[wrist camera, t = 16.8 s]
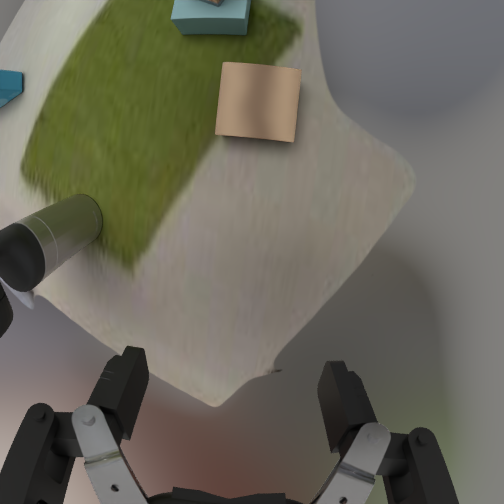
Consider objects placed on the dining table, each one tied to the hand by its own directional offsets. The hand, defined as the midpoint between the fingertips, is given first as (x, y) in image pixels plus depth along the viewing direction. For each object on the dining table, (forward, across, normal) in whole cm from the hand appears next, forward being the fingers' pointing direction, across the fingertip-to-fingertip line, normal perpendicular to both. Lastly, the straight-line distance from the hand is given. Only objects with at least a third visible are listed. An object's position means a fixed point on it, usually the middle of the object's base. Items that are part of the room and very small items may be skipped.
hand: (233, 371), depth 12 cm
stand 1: (+36, +7, -32) cm, 48 cm away
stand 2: (+35, -1, -15) cm, 38 cm away
